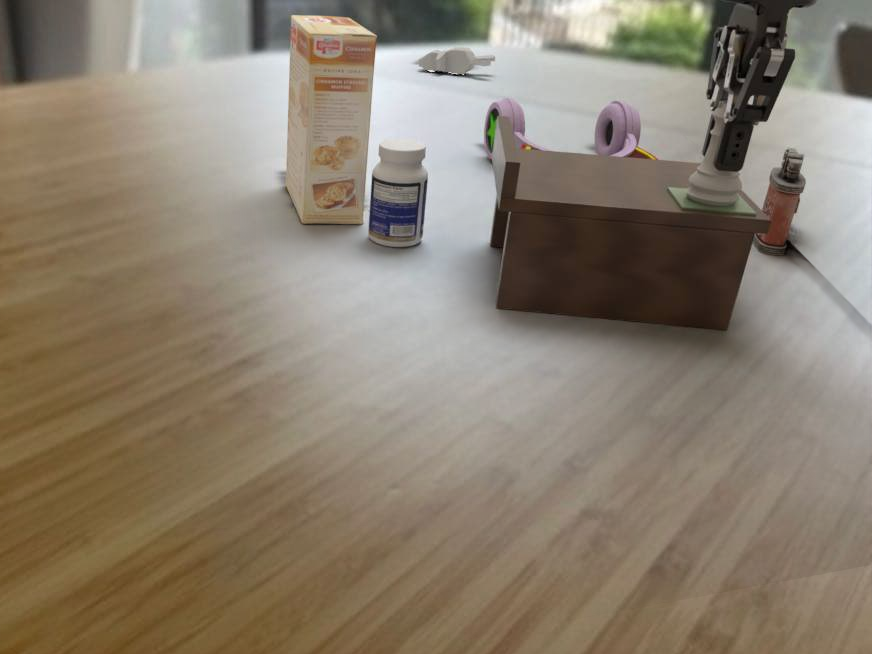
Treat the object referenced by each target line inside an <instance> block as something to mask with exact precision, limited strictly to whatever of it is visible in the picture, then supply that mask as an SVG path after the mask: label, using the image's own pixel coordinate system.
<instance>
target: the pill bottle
mask: <svg viewBox="0 0 872 654" xmlns="http://www.w3.org/2000/svg"><path fill="white" fill-rule="evenodd" d="M426 149H427V146H426V144H425V143H423V142H422V141H418V140H414V139H407V138H390V139H384V140H382V141H380V142H379V144H378V156H379V158H380V160H379V162H378V163H376V165H374V167H373V169H372V172H371V185H370V200H369V215H368V231H367V232H368V233H367V234H368V238H370V240H371V241H373V243H376V244H378V245H380V246H385V247H391V248H407V247H413V246H415V245H418V244H419V243H420V242H421V241H422V239H423V236H424V227H425V214H426V203H427V191H428V183H429V181H428V180H429V173H428V170H427V169H426V166H424V165H423V161H424V159H426V153H427V151H426Z"/></svg>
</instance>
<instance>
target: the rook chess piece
mask: <svg viewBox="0 0 872 654" xmlns="http://www.w3.org/2000/svg"><path fill="white" fill-rule="evenodd" d="M748 104H750V103H749V102H748ZM726 106H727V101H726V100H723V101H719V105H718V108H716V109H715V110H714V111H711V114H712V115H713V117H714V120H715V126H714V129H712V130H711V131H710V133H711V135H712V136H711V140H710V144H709V147H708V149H707V152H706V154H705V157H704V156H703V159H702V161H701V162H700V163H701V165H700V166H699V167H697V171H696V172H695V173H693V174H692V175H691V176H690V178H689V183H690V185H691V186H690V187H689V188H687V189H685V190H686V194H687V196H688V198H689V199H691V200H692V201H695V202H698V203H701V204H706V205H712V206H731V205H733V204H735V203H736V202H737V201H738V200H739V199H740V197H739V195H738V194H737V192H738V191H739V190H742V189H743V183H742V180H741V179H740V175H741V173H740V171H738V172H731V171H719V170H717V169H716V168H715V167H714V165H713V161H714V157H715V153H716V150H717V146H718V142H719V138H720V134H721V130H722V126H723V122H724V114H725V111H726Z"/></svg>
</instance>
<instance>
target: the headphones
mask: <svg viewBox="0 0 872 654" xmlns="http://www.w3.org/2000/svg"><path fill="white" fill-rule="evenodd" d="M497 116H505V117H510V121H511V125H512V130H513V134H514V138H515V142H516V146H517V148H519V149H531V150H544V151H552V150H551V149H548V148H546V147H543V146H540V145H539V144H536V143H534V142H533V141H531V140H529V139H528V138H527V137H526V118H525V112H524V110H523V108H522V106H521V104H520V103H518V102H517V101H516V100H515V99H514V98H508V97H507V98H502V99H501V100H498V101H494V102H492V103H491V104H490V105H489V107H488V109H487V113H486V116H485V120H484V127H483V141H484V142H483V145H484V150H485V153H486V156H487V158H488V159H490V160H492V152H493V145H494V138H495V130H496V123H497ZM594 128H595V129H594V148H595V151H596V155H605V156H618V157H630V158H642V159H655V160H659V159H658V158H657V157H656V156H655V155H653V154H652V153H651V152H648V150H647V151H646V150H645V149H643V148H641V147H639V144H640V138H641V130H642V122H641V117H640V113H639V111H638V109H637V107H636V106H634V105H633V104H629V103H627V102H626V101H624V100H613V101H611V102H610V103H609V104H607V105H606V106H604V107H603V109H601V111H600V113H599V115H598V116H597V119H596V123H595V127H594Z"/></svg>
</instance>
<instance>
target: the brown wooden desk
mask: <svg viewBox="0 0 872 654" xmlns="http://www.w3.org/2000/svg"><path fill="white" fill-rule="evenodd" d="M491 162H492V168H493V169H492V170H493V177H494V185H495V190H496V191H495V192H496V195H495V196H496V197H495V203H494V210H493V215H492V217H493V218H492V224H491V232H490V239H489V245H490V246H489V247H492V248H503V249H502V256H501V260H500V261H501V262H500V269H499V275H498V281H497V288H496V294H495V295H496V297H495V308H496V309H500V310H501V309H502V310H512V311H523V312H534V313H542V314H543V313H545V314H554V315H563V316H564V315H566V316H573V317H574V316H575V317H586V318H595V319H596V318H597V319H607V320H618V321H626V322H637V323H649V324H657V325H658V324H659V325H668V326H669V325H670V326H679V327H690V328H700V329H701V328H702V329H709V330H710V329H711V330H720V331H721V330H722V331H727V330H729V326H730V322H731V319H732V315H733V312H734V309H735V305H736V301H737V298H738V296H739V295H738V294H739V291H740V288H741V284H742V280H743V277H744V273H745V271H746V267H747V263H748V260H749V256H750V252H751V250H752V246H753V239H754V236H755V233H759V234H768V232H769V229H770V225H771V222H772V220H771V219H770V218H769V217H768V216H767V215H766V214H765V213H764V212H763V211H762V209H761V208H760V206H758V205H757V204H756V203H755V202H754V201H753V200H752V198H751V197H749V196H748V195H747V193H745V191H743V190H742V189H741V190H739V191H738V192H737V194H738V195H739V197H740V199H739V200H738V201H737V202H736V203H735V204H733V205H731V206H712V205H706V204H701V203H698V202H695V201H692V200H691V199H689V198H688V196H687V194H686V190H685V189H687V188H689V187H690V186H691V185H690V183H689V178H690V176H691V175H692V174H693V173H695V172H696V171H697V167H699V166H700V165H701V163H702V162H692V161H691V162H690V161H680V160H679V161H677V160H665V159H658V160H655V159H642V158H630V157H618V156H605V155H598V154H591V153H581V152H568V151H567V152H566V151H557V150H556V151H555V150H551V151H544V150H531V149H519V148H517V146H516V142H515V138H514V134H513V130H512V125H511V121H510V117H505V116H497V123H496V130H495V138H494V145H493V152H492V159H491Z"/></svg>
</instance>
